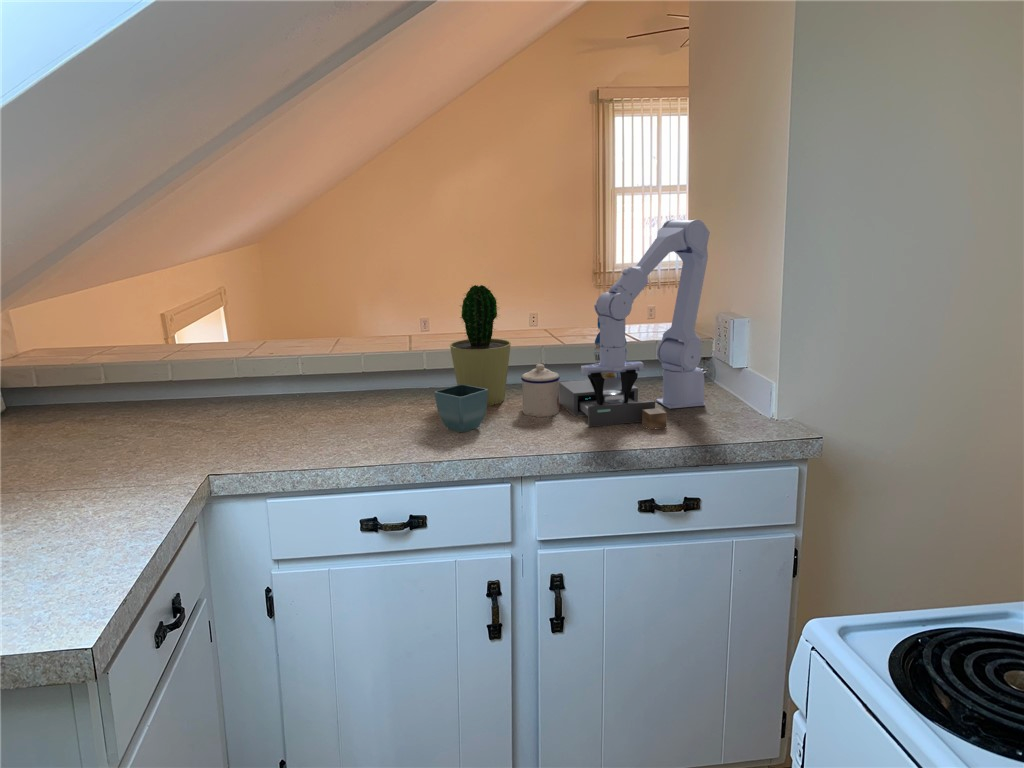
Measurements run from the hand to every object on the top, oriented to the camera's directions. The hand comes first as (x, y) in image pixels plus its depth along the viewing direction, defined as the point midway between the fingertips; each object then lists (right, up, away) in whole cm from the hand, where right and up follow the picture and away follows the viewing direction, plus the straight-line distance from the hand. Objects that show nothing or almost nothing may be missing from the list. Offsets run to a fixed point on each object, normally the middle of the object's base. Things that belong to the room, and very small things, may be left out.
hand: (612, 403), depth 172 cm
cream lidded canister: (-17, -2, +7) cm, 19 cm away
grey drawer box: (-2, -1, +10) cm, 10 cm away
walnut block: (+8, -5, -8) cm, 12 cm away
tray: (0, -3, +1) cm, 3 cm away
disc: (0, +1, 0) cm, 1 cm away
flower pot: (-34, -6, -6) cm, 35 cm away
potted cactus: (-31, 0, +18) cm, 36 cm away
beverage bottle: (+3, +2, +24) cm, 24 cm away
